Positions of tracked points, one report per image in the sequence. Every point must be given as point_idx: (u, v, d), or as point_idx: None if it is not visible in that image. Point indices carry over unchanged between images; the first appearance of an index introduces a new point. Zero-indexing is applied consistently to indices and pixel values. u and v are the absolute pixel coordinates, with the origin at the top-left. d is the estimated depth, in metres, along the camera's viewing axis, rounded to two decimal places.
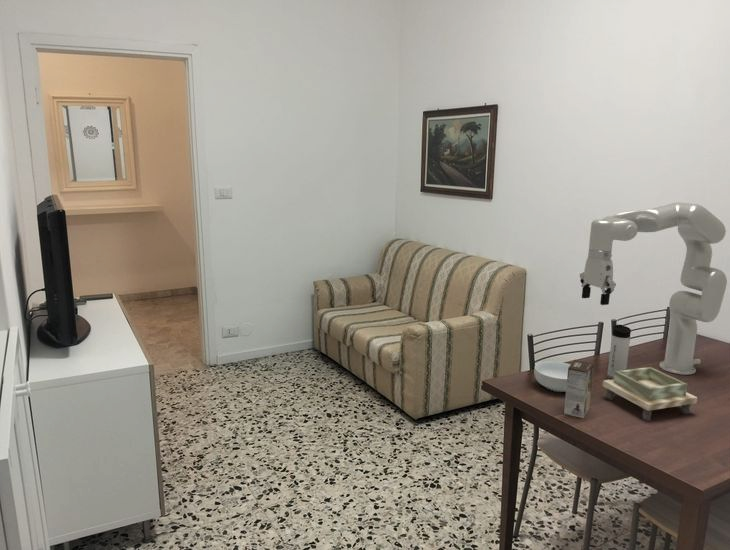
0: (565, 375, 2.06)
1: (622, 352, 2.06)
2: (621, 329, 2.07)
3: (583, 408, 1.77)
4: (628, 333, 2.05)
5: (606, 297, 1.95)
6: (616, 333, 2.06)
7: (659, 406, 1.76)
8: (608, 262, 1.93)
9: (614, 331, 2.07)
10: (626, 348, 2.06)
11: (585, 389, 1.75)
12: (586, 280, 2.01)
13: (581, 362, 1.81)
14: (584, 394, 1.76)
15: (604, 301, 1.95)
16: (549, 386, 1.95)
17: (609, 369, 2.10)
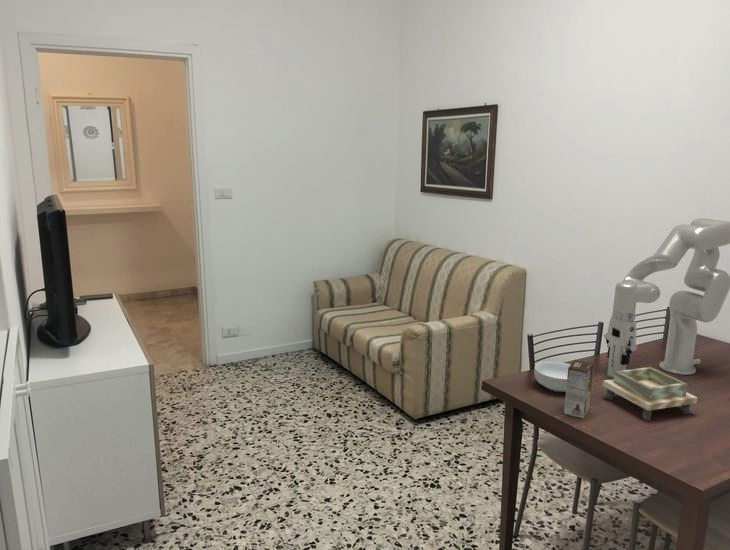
0: (565, 374, 2.06)
1: (622, 352, 2.06)
2: None
3: (583, 408, 1.77)
4: None
5: (627, 358, 2.05)
6: (615, 333, 2.06)
7: (659, 406, 1.76)
8: (632, 324, 2.03)
9: (613, 331, 2.07)
10: (626, 348, 2.06)
11: (585, 389, 1.75)
12: (610, 338, 2.10)
13: (581, 362, 1.81)
14: (584, 394, 1.76)
15: (624, 361, 2.06)
16: (549, 386, 1.95)
17: (609, 369, 2.10)
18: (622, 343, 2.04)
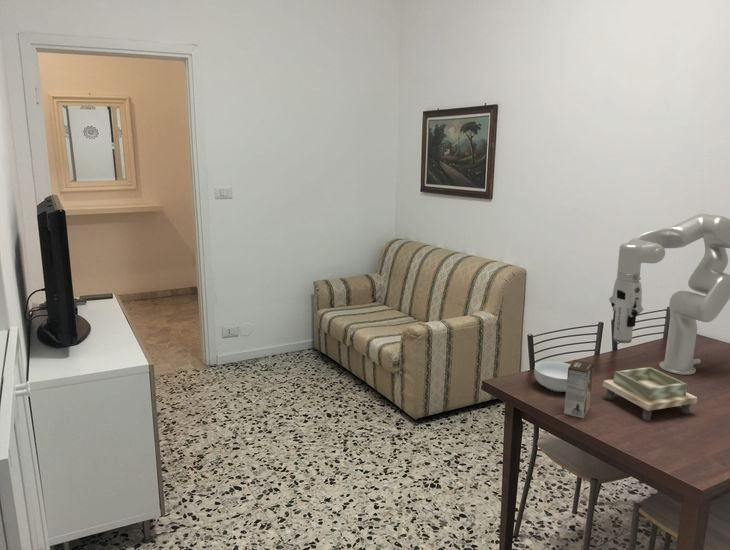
0: (565, 375, 2.06)
1: (627, 314, 2.03)
2: None
3: (583, 408, 1.77)
4: None
5: (633, 320, 2.02)
6: (621, 295, 2.03)
7: (659, 406, 1.76)
8: (637, 285, 2.00)
9: (618, 293, 2.04)
10: None
11: (585, 389, 1.75)
12: (615, 301, 2.08)
13: (581, 362, 1.81)
14: (584, 394, 1.76)
15: (631, 323, 2.03)
16: (549, 386, 1.95)
17: (615, 332, 2.08)
18: (628, 305, 2.02)
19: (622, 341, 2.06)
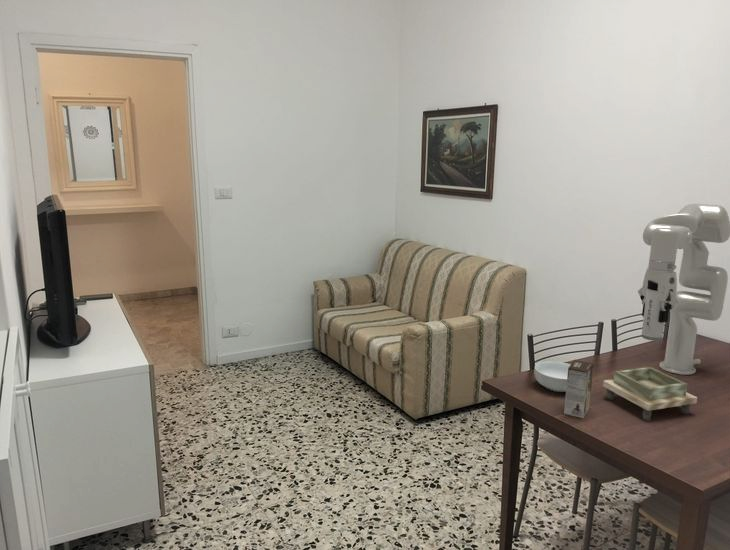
0: (565, 375, 2.06)
1: (659, 308, 1.80)
2: None
3: (583, 408, 1.77)
4: None
5: (666, 314, 1.79)
6: (652, 286, 1.80)
7: (659, 406, 1.76)
8: (672, 274, 1.76)
9: (650, 284, 1.81)
10: None
11: (585, 389, 1.75)
12: (645, 293, 1.84)
13: (581, 362, 1.81)
14: (584, 394, 1.76)
15: (663, 318, 1.79)
16: (549, 386, 1.95)
17: (644, 328, 1.84)
18: (660, 297, 1.78)
19: (652, 338, 1.82)
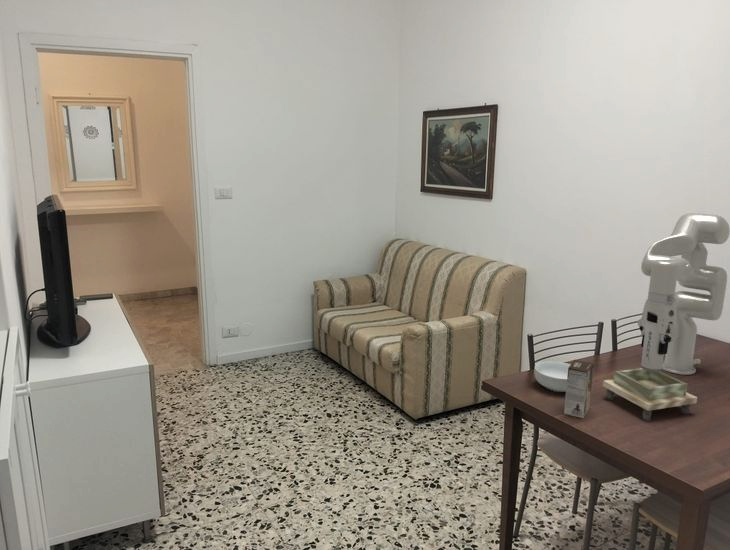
0: (565, 375, 2.06)
1: (659, 340, 1.79)
2: None
3: (583, 408, 1.77)
4: None
5: (665, 346, 1.79)
6: (652, 318, 1.80)
7: (659, 406, 1.76)
8: (671, 307, 1.76)
9: (649, 316, 1.80)
10: None
11: (585, 389, 1.75)
12: (644, 325, 1.84)
13: (581, 362, 1.81)
14: (584, 394, 1.76)
15: (662, 350, 1.79)
16: (549, 386, 1.95)
17: (643, 360, 1.84)
18: (660, 329, 1.78)
19: (652, 370, 1.82)
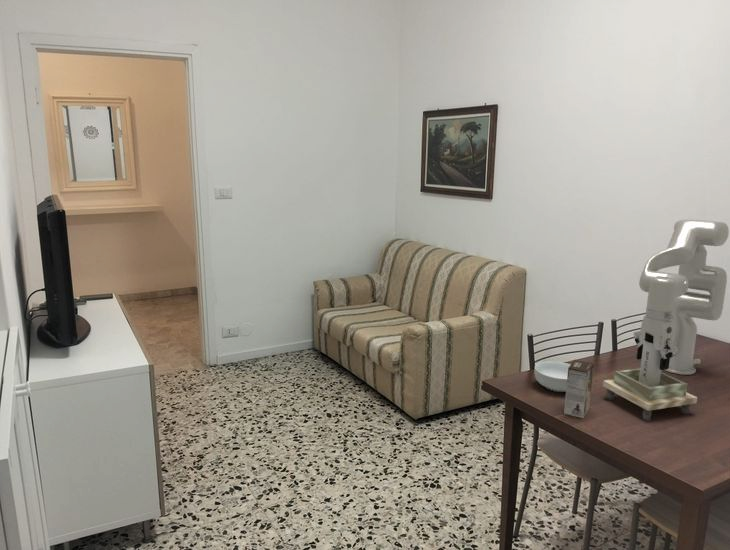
0: (565, 375, 2.06)
1: (656, 360, 1.81)
2: None
3: (583, 408, 1.77)
4: None
5: (667, 362, 1.79)
6: (649, 338, 1.81)
7: (659, 406, 1.76)
8: (669, 324, 1.77)
9: (647, 336, 1.82)
10: (661, 355, 1.81)
11: (585, 389, 1.75)
12: (642, 341, 1.85)
13: (581, 362, 1.81)
14: (584, 394, 1.76)
15: (664, 366, 1.79)
16: (549, 386, 1.95)
17: (640, 379, 1.86)
18: (658, 346, 1.79)
19: None
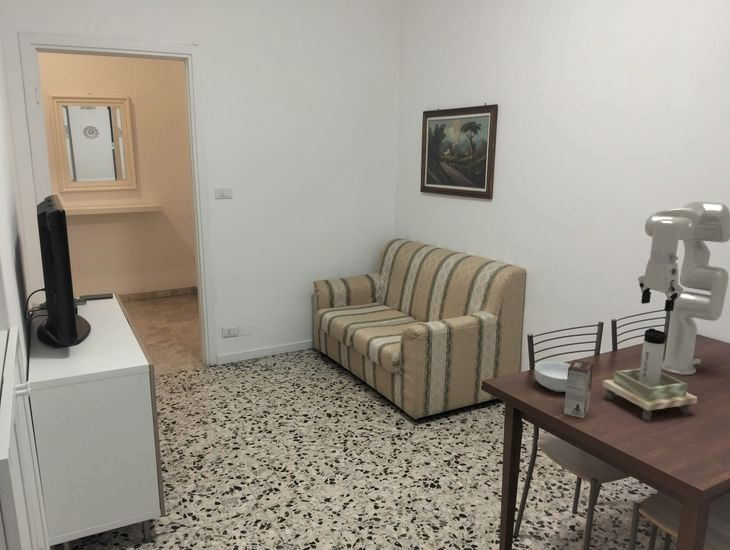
0: (565, 374, 2.06)
1: (656, 360, 1.81)
2: (655, 334, 1.83)
3: (583, 408, 1.77)
4: (663, 338, 1.80)
5: (671, 303, 1.80)
6: (649, 338, 1.81)
7: (659, 406, 1.76)
8: (674, 265, 1.79)
9: (647, 336, 1.82)
10: (660, 355, 1.81)
11: (585, 389, 1.75)
12: (647, 284, 1.87)
13: (581, 362, 1.81)
14: (584, 394, 1.76)
15: (669, 307, 1.81)
16: (549, 386, 1.95)
17: (640, 379, 1.86)
18: (662, 288, 1.81)
19: None
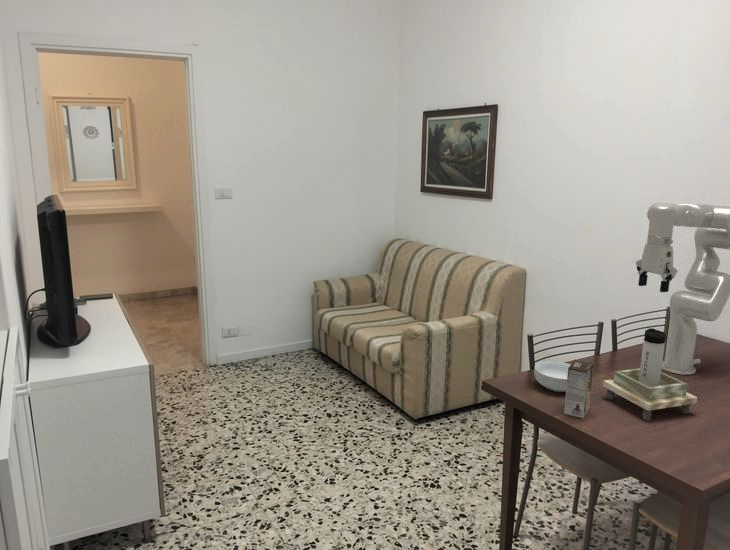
0: (565, 375, 2.06)
1: (656, 360, 1.81)
2: (655, 334, 1.83)
3: (583, 408, 1.77)
4: (663, 338, 1.80)
5: (666, 284, 1.92)
6: (649, 338, 1.81)
7: (659, 406, 1.76)
8: (669, 248, 1.90)
9: (646, 336, 1.82)
10: (660, 355, 1.81)
11: (585, 389, 1.75)
12: (644, 267, 1.98)
13: (581, 362, 1.81)
14: (584, 394, 1.76)
15: (664, 288, 1.92)
16: (549, 386, 1.95)
17: (640, 379, 1.86)
18: (658, 270, 1.92)
19: None
